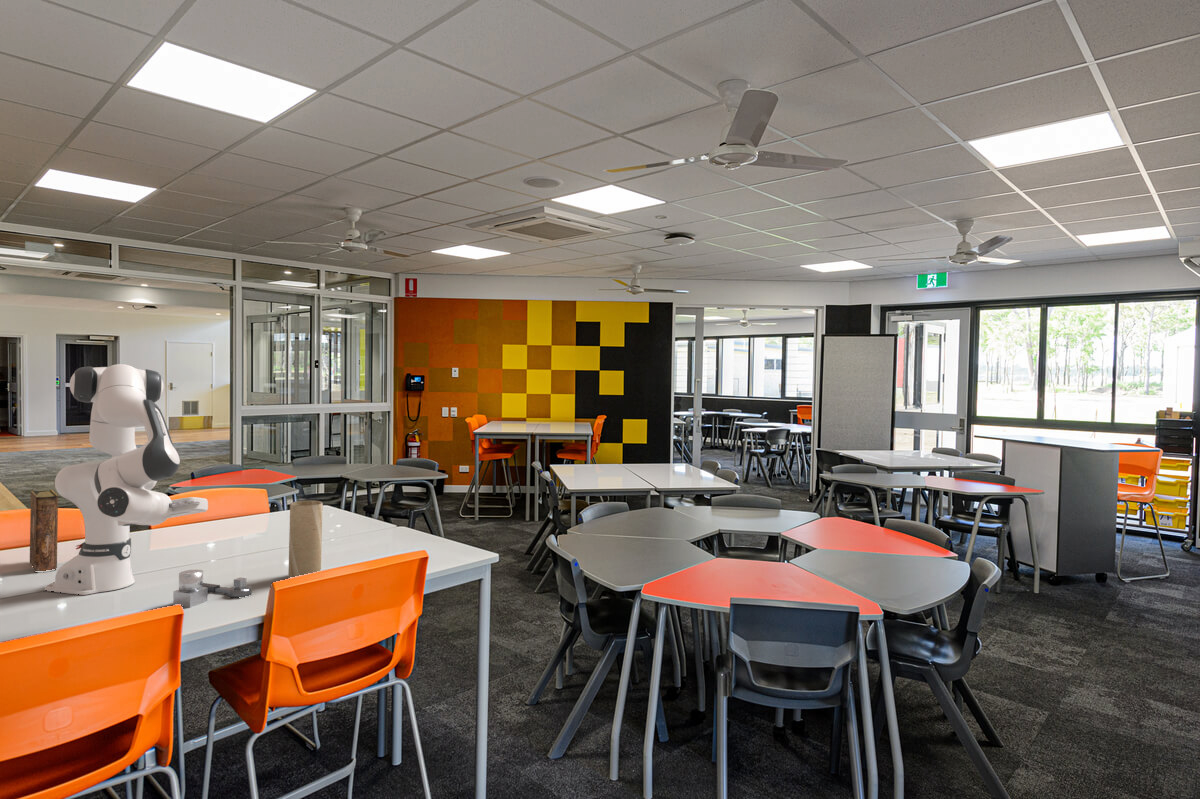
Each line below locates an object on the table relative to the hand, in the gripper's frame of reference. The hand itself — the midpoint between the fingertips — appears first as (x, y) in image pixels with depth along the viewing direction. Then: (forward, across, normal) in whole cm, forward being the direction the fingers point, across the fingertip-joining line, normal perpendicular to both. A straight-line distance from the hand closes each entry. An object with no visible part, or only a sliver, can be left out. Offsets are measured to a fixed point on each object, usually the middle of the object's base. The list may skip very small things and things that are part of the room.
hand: (181, 513), depth 183 cm
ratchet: (+21, -1, +23) cm, 31 cm away
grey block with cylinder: (+12, +4, +25) cm, 28 cm away
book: (+43, +68, +2) cm, 80 cm away
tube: (+38, -19, +22) cm, 47 cm away
